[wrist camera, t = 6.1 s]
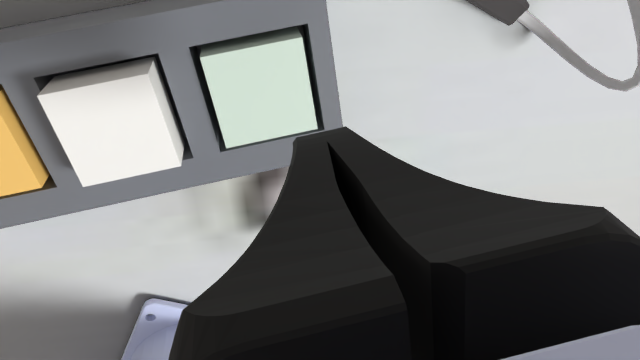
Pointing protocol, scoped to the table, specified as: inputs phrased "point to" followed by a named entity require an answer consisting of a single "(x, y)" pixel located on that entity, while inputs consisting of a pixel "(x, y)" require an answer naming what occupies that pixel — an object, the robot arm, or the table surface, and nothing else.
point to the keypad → (179, 79)
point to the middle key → (114, 121)
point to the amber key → (17, 153)
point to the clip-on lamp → (511, 5)
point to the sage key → (259, 86)
